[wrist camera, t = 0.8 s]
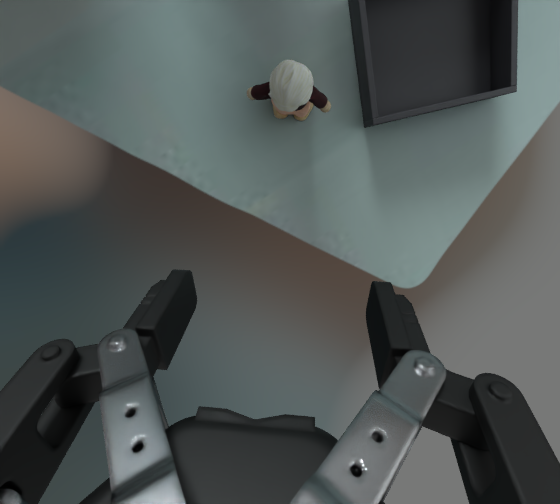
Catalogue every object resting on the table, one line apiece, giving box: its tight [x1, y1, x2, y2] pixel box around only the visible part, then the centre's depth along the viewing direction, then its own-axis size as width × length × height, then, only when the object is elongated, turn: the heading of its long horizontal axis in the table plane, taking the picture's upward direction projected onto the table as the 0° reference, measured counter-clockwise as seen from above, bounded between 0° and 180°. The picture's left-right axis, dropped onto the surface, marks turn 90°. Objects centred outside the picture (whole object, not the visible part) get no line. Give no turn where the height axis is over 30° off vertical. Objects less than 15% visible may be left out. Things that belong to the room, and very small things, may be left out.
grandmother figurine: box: [247, 60, 331, 121], centre depth 27 cm, size 8×4×13 cm, turn 93°
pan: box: [348, 0, 518, 128], centre depth 30 cm, size 12×14×3 cm
